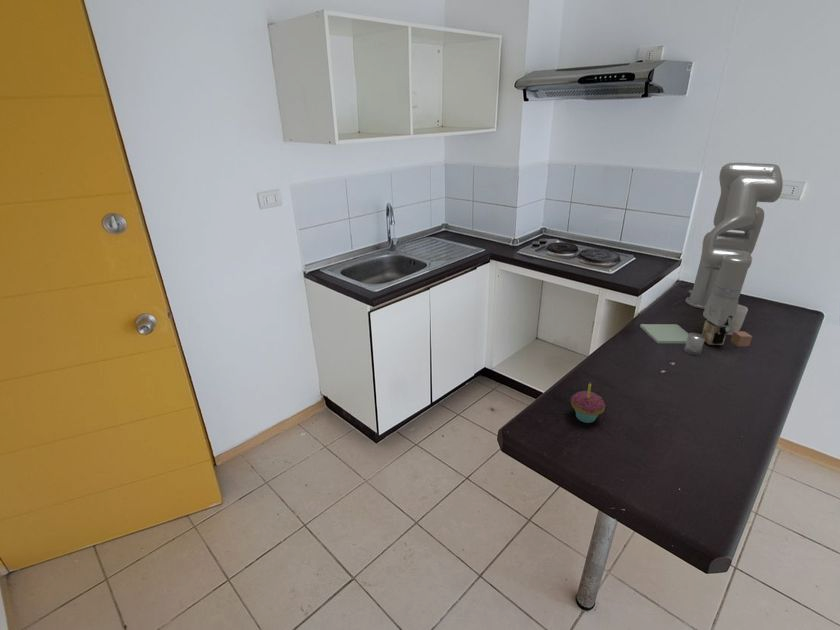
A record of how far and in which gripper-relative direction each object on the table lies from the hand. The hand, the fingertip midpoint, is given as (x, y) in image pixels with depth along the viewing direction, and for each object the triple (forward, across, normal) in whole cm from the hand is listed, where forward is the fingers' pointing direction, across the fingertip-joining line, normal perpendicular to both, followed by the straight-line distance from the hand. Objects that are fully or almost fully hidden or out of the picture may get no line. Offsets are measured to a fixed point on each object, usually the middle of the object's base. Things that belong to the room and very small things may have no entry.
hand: (712, 339), depth 156 cm
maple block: (+1, 0, 0) cm, 1 cm away
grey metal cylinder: (+2, +6, -10) cm, 12 cm away
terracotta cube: (+2, 0, +10) cm, 10 cm away
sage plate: (+2, -7, -12) cm, 14 cm away
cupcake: (+1, +43, -59) cm, 73 cm away
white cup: (+2, -10, +12) cm, 15 cm away
